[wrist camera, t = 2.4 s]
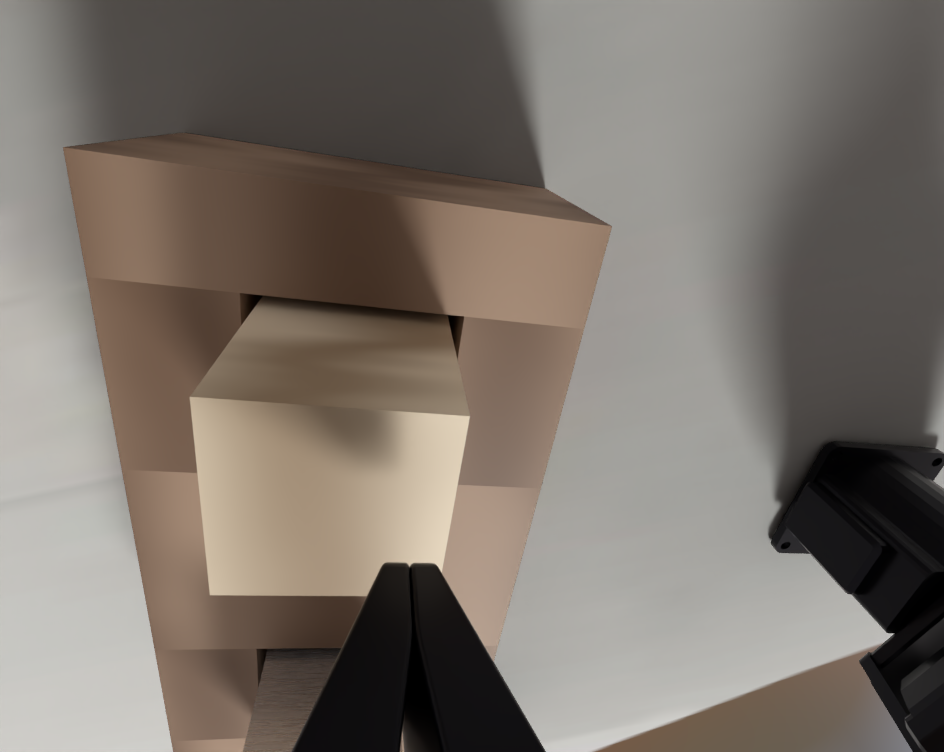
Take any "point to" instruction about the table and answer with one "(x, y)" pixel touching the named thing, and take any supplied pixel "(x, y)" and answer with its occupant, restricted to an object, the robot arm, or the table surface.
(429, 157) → the table surface
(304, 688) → the steel peg
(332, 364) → the beech peg
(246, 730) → the walnut block
